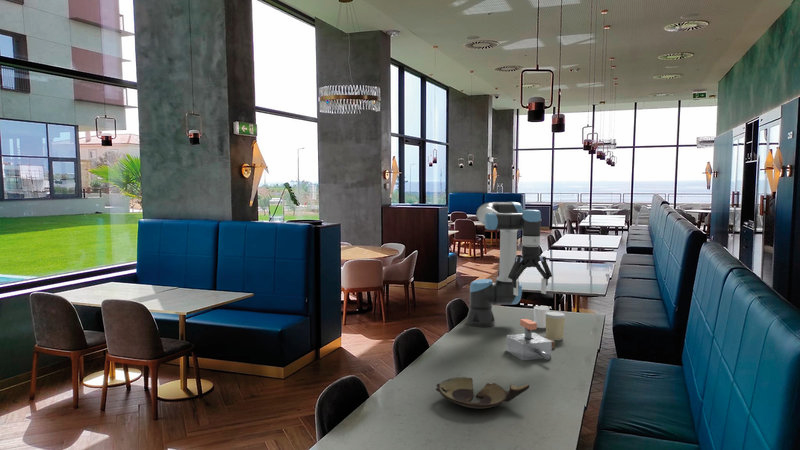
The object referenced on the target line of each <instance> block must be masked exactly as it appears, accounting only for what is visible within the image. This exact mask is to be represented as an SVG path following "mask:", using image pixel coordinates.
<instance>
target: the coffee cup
mask: <svg viewBox="0 0 800 450" xmlns="http://www.w3.org/2000/svg"><path fill="white" fill-rule="evenodd" d="M545 316H546V328H545V337H547V338H549V339H551V340H553V341H562V340H563V339H564V332H565V321H566V314H565V313H564V312H561V311H549V312H546V314H545Z"/></svg>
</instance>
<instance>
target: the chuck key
mask: <svg viewBox="0 0 800 450" xmlns="http://www.w3.org/2000/svg"><path fill="white" fill-rule="evenodd" d="M519 320H520V321H519V322H520V323H519V325H520V326H521V327H524V334H525V339H526V340H531V339H532V333H533V332H532V331H533V330H537V323H535V322H534V320H531V319H529V318H522V319H519Z"/></svg>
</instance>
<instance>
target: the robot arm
mask: <svg viewBox="0 0 800 450" xmlns="http://www.w3.org/2000/svg"><path fill="white" fill-rule="evenodd" d="M541 214H542V213H541V211H540V210H538V209H524V208H523V206H522V203H520V202H516V201H490V202H485V203H483V204H481V205H480V206H479V207H478V208H477V210H476V215H475V216H476V219H477V220H478V221H479V222H480V223H481V224H484V228H485V229H486V230H490V231H495V230H496V231H499V232H500V233H499V234H500V235H499V237H500V240H499V275H498V276H497V277H496V280H495V281H496V282H494V281H493V280H492V279H490V278H488V279H487V278H479V279H476V280H473V281H471V282H470V285H469V310H468V313H467V316H466V318H465V323H466V324H467V326H471V327H475V328H476V327H477V328H489V327H490V328H491V327H493V326H495V324H496V319H495V316H494V312H493V305H509V306H510V305H518V304H519V302H520V301H521V298H522V294H523V286H522V283H521V282H520V281H519V278H520V276H521V275H522V274H523V273H524V271H525V270H526V269H527V268H536V270H537V271H538V272H539V274H540V275H541V277H542V278H541V279H540V281H541V282H540V283H541V286H540V287H541V288H540V293H541V294H544V295H547V286H548V285H549V284H548V283H549V282H548V281H549V279H550V278H552V277H553V274H552V271H551V270H550V267H549V265H548V262H547V256H544V255H541V256H540V254H541V246H540V245H541V223H542V215H541ZM518 231H522V234H521V236H522V238H521V240H522V241H521V244H522V246H521V257H518V256H517V252H518V251H517V249H518V248H517V247H518V245H517V244H518V241H517V239H518ZM521 262H522V263H521ZM540 263H541V264H540Z"/></svg>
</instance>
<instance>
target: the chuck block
mask: <svg viewBox="0 0 800 450" xmlns="http://www.w3.org/2000/svg"><path fill="white" fill-rule="evenodd" d="M544 337H545V336H542V335H540V334H538V333H536V332H532V339H531V340H526V339H525V333H515V334H507V335H506V346H505V347H506V348H505V351H506V352H507V353H510V354H511V355H513V356H514V357H516V358H517V359H518V360H519V359H520V360H521V361H522V362H523V361H530V360H531V361H532V360H540V359H541V360H542V359H546V360H547V361H549V360H551V359H552V349H553V348H552V341H550V340H548V339H546V338H544Z"/></svg>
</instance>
